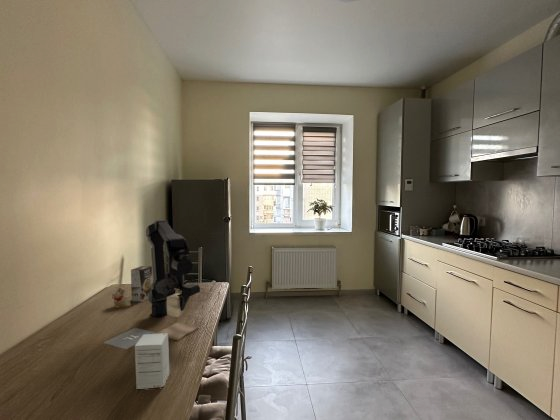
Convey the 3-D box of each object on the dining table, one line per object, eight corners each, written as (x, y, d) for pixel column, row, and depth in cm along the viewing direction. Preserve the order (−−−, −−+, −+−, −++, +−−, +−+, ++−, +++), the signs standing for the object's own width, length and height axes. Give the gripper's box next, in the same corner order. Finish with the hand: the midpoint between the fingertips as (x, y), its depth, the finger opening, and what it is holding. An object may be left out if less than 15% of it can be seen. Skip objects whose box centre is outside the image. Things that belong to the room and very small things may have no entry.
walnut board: (177, 324, 132) (177, 322, 132) (198, 329, 127) (198, 327, 127) (156, 335, 122) (156, 333, 122) (178, 340, 117) (178, 338, 117)
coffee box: (142, 302, 160) (141, 270, 159) (131, 301, 161) (130, 269, 160) (153, 296, 169) (152, 265, 168) (142, 295, 170) (141, 265, 169)
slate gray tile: (135, 328, 129) (135, 327, 129) (157, 334, 124) (157, 333, 124) (102, 343, 116) (102, 342, 116) (125, 350, 111) (125, 349, 111)
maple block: (176, 310, 128) (176, 293, 127) (186, 312, 125) (186, 294, 125) (167, 315, 123) (166, 297, 123) (177, 317, 121) (176, 298, 120)
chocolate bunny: (121, 303, 159) (121, 283, 158) (132, 305, 155) (131, 285, 154) (111, 306, 154) (110, 286, 153) (122, 309, 150) (121, 288, 149)
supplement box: (144, 375, 95) (143, 333, 94) (170, 374, 96) (168, 332, 95) (135, 390, 88) (133, 345, 87) (163, 389, 88) (161, 344, 88)
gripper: (141, 271, 120) (142, 312, 121) (179, 277, 112) (180, 321, 113) (163, 265, 130) (164, 303, 131) (200, 270, 122) (201, 310, 123)
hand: (176, 309), depth 124 cm, fingers closed on maple block, 5 cm apart
